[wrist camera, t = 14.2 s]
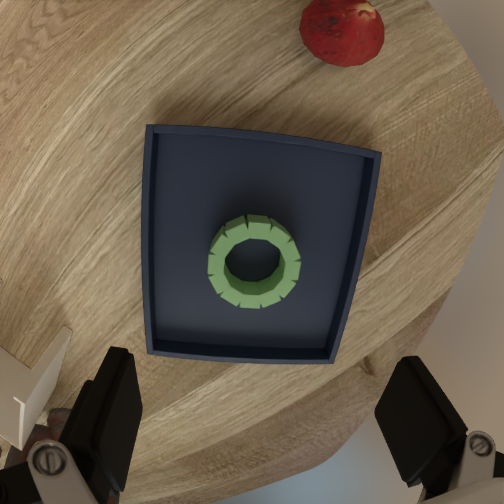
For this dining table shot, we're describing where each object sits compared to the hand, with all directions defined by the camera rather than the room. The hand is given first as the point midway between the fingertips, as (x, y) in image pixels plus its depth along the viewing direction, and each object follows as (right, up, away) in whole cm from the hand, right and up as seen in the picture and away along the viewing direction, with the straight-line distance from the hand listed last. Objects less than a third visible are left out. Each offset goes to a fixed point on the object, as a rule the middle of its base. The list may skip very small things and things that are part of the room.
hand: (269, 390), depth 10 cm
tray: (-1, +5, +16) cm, 16 cm away
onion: (+5, +21, +10) cm, 24 cm away
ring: (-1, +4, +15) cm, 16 cm away
